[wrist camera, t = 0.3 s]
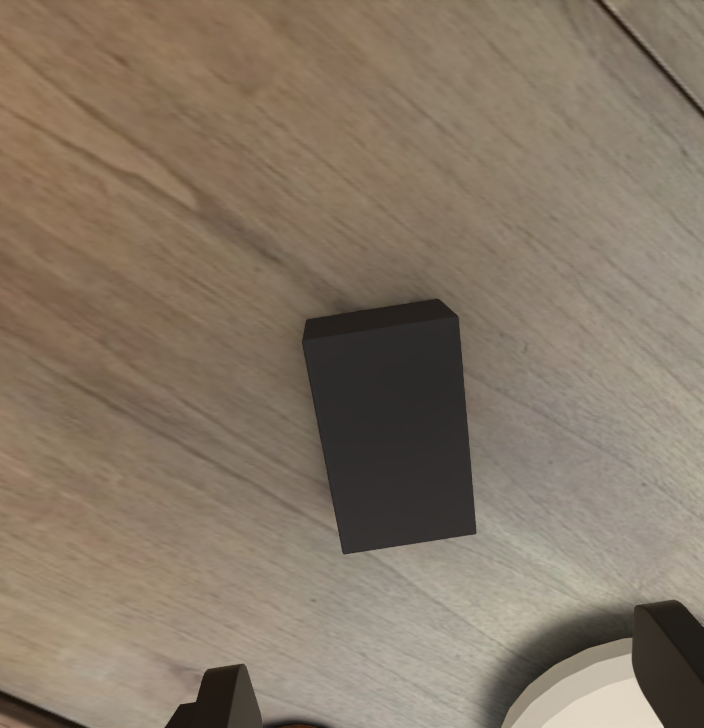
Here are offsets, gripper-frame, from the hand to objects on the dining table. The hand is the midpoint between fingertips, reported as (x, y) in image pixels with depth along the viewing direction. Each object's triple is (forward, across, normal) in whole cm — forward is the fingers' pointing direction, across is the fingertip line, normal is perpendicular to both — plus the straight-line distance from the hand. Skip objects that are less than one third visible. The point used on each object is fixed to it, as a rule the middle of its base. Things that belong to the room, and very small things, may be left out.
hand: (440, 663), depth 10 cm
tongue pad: (+14, 0, 0) cm, 14 cm away
